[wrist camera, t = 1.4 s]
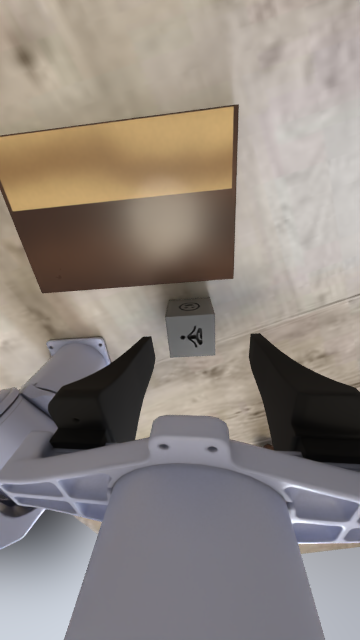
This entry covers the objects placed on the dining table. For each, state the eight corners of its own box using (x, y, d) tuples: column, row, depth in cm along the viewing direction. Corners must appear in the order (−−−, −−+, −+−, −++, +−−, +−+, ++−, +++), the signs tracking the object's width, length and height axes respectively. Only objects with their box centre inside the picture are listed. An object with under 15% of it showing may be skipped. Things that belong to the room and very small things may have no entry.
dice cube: (210, 332, 27) (215, 355, 22) (173, 335, 27) (170, 357, 23) (209, 297, 25) (214, 314, 20) (169, 300, 25) (165, 317, 20)
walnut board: (230, 275, 23) (233, 278, 22) (49, 289, 25) (41, 293, 23) (234, 113, 17) (238, 103, 16) (-6, 144, 19) (-21, 138, 17)
